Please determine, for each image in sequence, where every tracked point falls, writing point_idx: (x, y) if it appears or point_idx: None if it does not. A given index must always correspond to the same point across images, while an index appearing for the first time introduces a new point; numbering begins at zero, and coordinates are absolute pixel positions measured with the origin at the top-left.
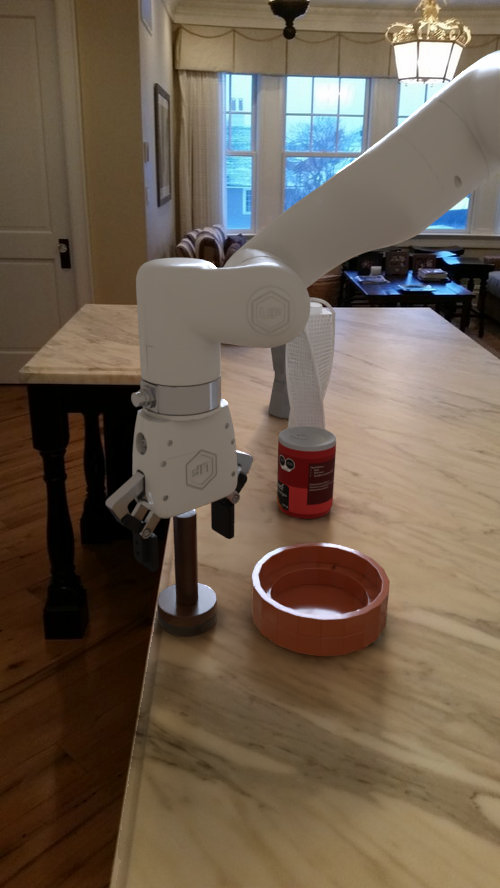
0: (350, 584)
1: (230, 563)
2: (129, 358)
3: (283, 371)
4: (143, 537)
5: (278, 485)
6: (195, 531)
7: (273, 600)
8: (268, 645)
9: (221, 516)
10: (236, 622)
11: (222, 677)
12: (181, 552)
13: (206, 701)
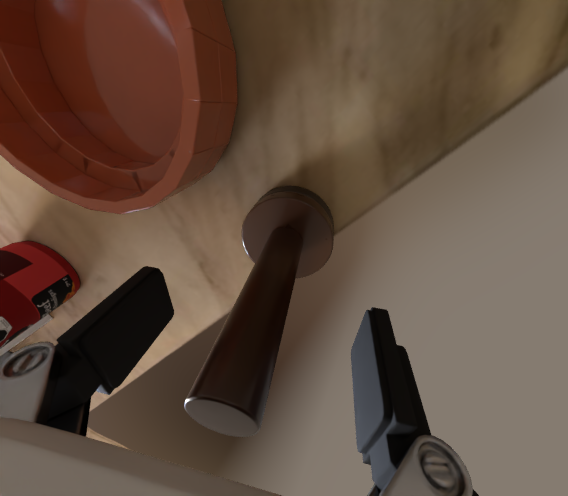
0: (26, 63)
1: (180, 260)
2: None
3: None
4: (455, 453)
5: (49, 308)
6: (227, 337)
7: (182, 71)
8: (243, 78)
9: (130, 328)
10: (246, 168)
11: (362, 70)
12: (282, 309)
13: (438, 33)
